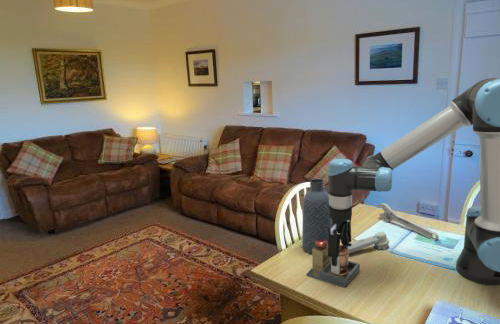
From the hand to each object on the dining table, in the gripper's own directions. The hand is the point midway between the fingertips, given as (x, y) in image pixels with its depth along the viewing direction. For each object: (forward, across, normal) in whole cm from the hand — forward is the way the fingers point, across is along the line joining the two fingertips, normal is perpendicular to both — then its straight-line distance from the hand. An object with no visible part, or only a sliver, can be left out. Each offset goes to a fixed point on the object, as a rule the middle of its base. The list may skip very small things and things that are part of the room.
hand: (339, 268), depth 126 cm
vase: (+3, -14, -16) cm, 21 cm away
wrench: (+3, -50, +9) cm, 51 cm away
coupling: (+2, 0, 0) cm, 2 cm away
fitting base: (+3, 0, -2) cm, 4 cm away
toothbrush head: (+3, -20, 0) cm, 20 cm away
